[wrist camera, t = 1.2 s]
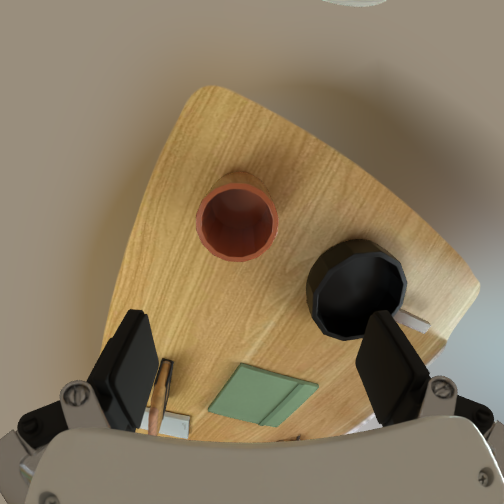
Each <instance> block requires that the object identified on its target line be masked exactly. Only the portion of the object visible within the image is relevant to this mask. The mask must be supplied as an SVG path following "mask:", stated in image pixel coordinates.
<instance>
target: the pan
mask: <svg viewBox="0 0 504 504" xmlns="http://www.w3.org/2000/svg"><path fill="white" fill-rule="evenodd" d="M406 287H407V280H406V277H405V274H404V271H403V269H402V266H401V263H400V262H399V261H398V260H397V259H396V258H395V257H394V256H393V255H391V254H390V253H389V252H388V251H387V250H385V249H383V248H382V247H380V246H379V245H378V244H376V243H374V242H372V241H370V240H363V239H354V240H348V241H344V242H342V243H339V244H337V245H335V246H333V247H331V248H330V249H329V250H327V251H326V252H325V253H324V254H322V255H321V256H320V258H319V259H318V260H317V261H316V262H315V264H314V265H313V267H312V269H311V271H310V273H309V276H308V279H307V283H306V295H307V304H308V307H309V310H310V313H311V316H312V318H313V320H314V321H315V323H316V324H317V326H318V327H319V329H320V330H321V331H322V333H323V334H324V335H327V336H330V337H333V338H336V339H339V340H342V341H347V340H354V339H360V338H363V337H364V334H365V330H366V327H367V324H368V321H369V318H370V316H371V315H373V313H374V312H375V311H384V310H387V311H388V312H389V313H390V314H391V316H392V317H393V318H394V320H395V321H396V322H398V323H400V324H403V325H405V326H407V327H410V328H412V329H414V330H417V331H419V332H422V333H424V334H425V333H426V332H427V330H428V329H429V328H430V326H431V325H430V323H429V322H428V321H425V320H423V319H421V318H419V317H417V316H415V315H413V314H411V313H409V312H407V311H405V310H403V309H401V306H402V304H403V300H404V296H405V292H406Z"/></svg>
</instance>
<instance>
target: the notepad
mask: <svg viewBox="0 0 504 504" xmlns="http://www.w3.org/2000/svg"><path fill="white" fill-rule="evenodd" d="M318 388H319V385H318V384H316V383H311V382H307V381H303V380H299V379H295V378H291V377H288V376H284V375H280V374H277V373H273V372H270V371H266V370H263V369H259V368H256V367H253V366H250V365H246V364H243V363H240V365H239V366H238V367H237V369H236V370H235V372H234V373H233V374H232V376H231V377H230V379H229V380H228V381H227V383H226V384H225V386H224V387H223V388H222V390H221V391H220V393H219V394H218V395H217V397H216V398H215V399H214V401H213V402H212V403H211V405H210V406H209V408H208V412H212V413H215V414H219V415H223V416H226V417H230V418H234V419H239V420H243V421H247V422H252V423H256V424H258V425H260V426H264V425H266V426H272V427H278V426H279V425H280V424H281V423H282V422H283V421H285V420H286V419H287V418H288V417H289V416H290V415H291V414H292V413H293V412H294V411H295V410H297V409H298V408H299V407H300V406H301V405H302V404H303V403H304V402H305V401H306V400H307V399H308V398H309V397H310V396H311V395H312V394H313V393H314V392H315V391H316V390H317V389H318Z"/></svg>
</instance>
